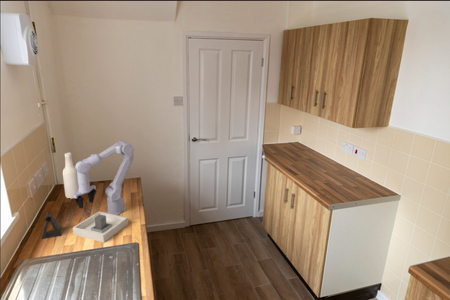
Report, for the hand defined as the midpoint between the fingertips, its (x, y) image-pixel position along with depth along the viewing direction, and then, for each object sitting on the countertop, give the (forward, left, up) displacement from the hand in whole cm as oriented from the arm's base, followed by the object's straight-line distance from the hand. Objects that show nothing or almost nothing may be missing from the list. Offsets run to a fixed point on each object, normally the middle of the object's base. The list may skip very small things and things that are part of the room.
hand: (86, 205), depth 173 cm
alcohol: (-21, -32, -10) cm, 39 cm away
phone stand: (+19, -6, -10) cm, 22 cm away
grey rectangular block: (+5, +14, -9) cm, 17 cm away
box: (+5, +14, -9) cm, 18 cm away
